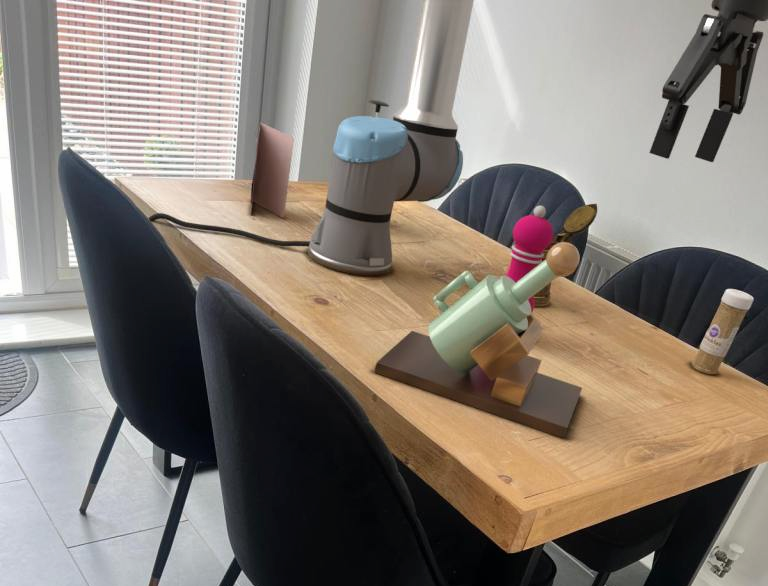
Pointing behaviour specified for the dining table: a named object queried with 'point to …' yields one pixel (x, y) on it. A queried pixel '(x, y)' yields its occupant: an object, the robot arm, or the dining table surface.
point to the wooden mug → (572, 227)
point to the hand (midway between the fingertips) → (682, 158)
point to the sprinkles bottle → (722, 331)
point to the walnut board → (479, 386)
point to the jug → (492, 306)
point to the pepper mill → (529, 245)
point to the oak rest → (510, 361)
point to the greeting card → (272, 169)
